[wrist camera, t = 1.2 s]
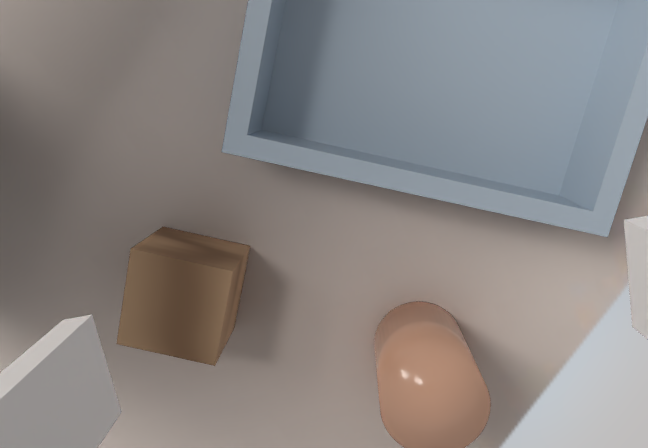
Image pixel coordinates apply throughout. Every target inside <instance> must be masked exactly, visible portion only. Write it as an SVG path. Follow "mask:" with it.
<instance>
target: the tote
mask: <svg viewBox="0 0 648 448" xmlns="http://www.w3.org/2000/svg"><path fill="white" fill-rule="evenodd" d="M647 118H648V0H248V5H247V10H246V16H245V22H244V27H243V33H242V39H241V44H240V50H239V56H238V61H237V67H236V73H235V78H234V84H233V90H232V96H231V101H230V107H229V113H228V118H227V124H226V130H225V135H224V141H223V147H222V152H223V153H228V154H232V155H237V156H242V157H246V158H251V159H255V160H260V161H264V162H269V163H273V164H278V165H282V166H287V167H291V168H296V169H300V170H305V171H310V172H314V173H319V174H323V175H328V176H332V177H337V178H341V179H346V180H350V181H355V182H359V183H364V184H368V185H373V186H378V187H382V188H387V189H391V190H396V191H400V192H405V193H409V194H414V195H418V196H423V197H427V198H432V199H436V200H441V201H446V202H450V203H455V204H459V205H464V206H468V207H473V208H477V209H482V210H486V211H491V212H495V213H500V214H504V215H509V216H514V217H518V218H523V219H527V220H532V221H536V222H541V223H545V224H550V225H554V226H559V227H563V228H568V229H572V230H577V231H582V232H586V233H591V234H595V235H600V236H604V237H608V235H609V232H610V229H611V226H612V223H613V220H614V217H615V214H616V211H617V208H618V205H619V202H620V199H621V196H622V193H623V190H624V187H625V184H626V181H627V178H628V175H629V172H630V169H631V166H632V163H633V160H634V157H635V154H636V151H637V148H638V145H639V142H640V139H641V136H642V133H643V130H644V127H645V124H646V121H647Z"/></svg>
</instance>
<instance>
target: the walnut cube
mask: <svg viewBox="0 0 648 448" xmlns="http://www.w3.org/2000/svg"><path fill="white" fill-rule="evenodd" d="M249 250H250V246H248V245H244V244H239V243H235V242H230V241H226V240H221V239H217V238H212V237H208V236H203V235H199V234H194V233H190V232H185V231H181V230H176V229H172V228H167V227H162V228H160V229H159V230H157V231H156V232H154V233H153V234H151V235H150V236H149V237H147V238H146V239H144V240H143V241H141V242H140V243H138V244H137V245H135V246H134V247H132V248H131V250H130V256H129V263H128V270H127V277H126V283H125V290H124V297H123V303H122V310H121V317H120V324H119V330H118V337H117V344H119V345H124V346H128V347H133V348H137V349H142V350H146V351H151V352H155V353H160V354H164V355H169V356H173V357H178V358H182V359H187V360H191V361H196V362H200V363H205V364H209V365H214V366H215V365H216V363H217V361H218V359H219V357H220V355H221V353H222V351H223V349H224V347H225V345H226V343H227V341H228V339H229V337H230V335H231V333H232V331H233V329H234V327H235V322H236V317H237V312H238V306H239V301H240V296H241V291H242V286H243V281H244V276H245V271H246V265H247V260H248V255H249Z"/></svg>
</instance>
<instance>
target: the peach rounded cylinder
mask: <svg viewBox="0 0 648 448" xmlns="http://www.w3.org/2000/svg"><path fill="white" fill-rule="evenodd" d="M374 347H375V358H376V369H377V380H378V391H379V402H380V412H381V417H382V421H383V423H384V426H385V428H386V429H387V431H388V433H389V434H390V435H391V436H392V438H393V439H394V440H395V441H396V442H398V443H399V444H400V445H402V446H403V447H405V448H464V447H466V446H468V445H469V444H470V443H472V442H473V441H474V440H475V439H476V438H477V437H478V436H479V435H480V434H481V432H482V431H483V429H484V427H485V426H486V424H487V421H488V418H489V414H490V406H491V404H490V396H489V391H488V389H487V386H486V384H485V382H484V380H483V377H482V375H481V373H480V371H479V369H478V367H477V365H476V362H475V360H474V358H473V356H472V354H471V352H470V349H469V347H468V345H467V343H466V341H465V339H464V337H463V334H462V332H461V330H460V328H459V326H458V324H457V322H456V321H455V319H454V318H453V317H452V316H451V315H450V314H449V313H448V312H447V311H446V310H445V309H443V308H441V307H439V306H437V305H435V304H431V303H427V302H410V303H406V304H403V305H400V306H398V307H396V308H394V309H393V310H391V311H390V312H389V313H388V314H387V315H386V316H385V317H384V318H383V319H382V321H381V322H380V324H379V326H378V328H377V330H376V333H375V339H374Z"/></svg>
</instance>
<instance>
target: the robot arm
mask: <svg viewBox="0 0 648 448" xmlns="http://www.w3.org/2000/svg"><path fill="white" fill-rule="evenodd" d="M624 230H625V242H626V255H627V267H628V279H629V292H630V304H631V315H632V327H633V328H634V329H635V330H637V331H638V332H639V333H640V334H642V335H643V336H644V337H645V338H646V339H648V216H642V217H636V218H631V219H625V220H624ZM121 412H122V411H121V408H120V405H119V402H118V398H117V395H116V392H115V388H114V385H113V382H112V378H111V375H110V372H109V368H108V365H107V362H106V358H105V355H104V352H103V348H102V345H101V342H100V338H99V335H98V332H97V328H96V325H95V322H94V319H93V315H86V316H81V317H75V318H70V319H64V320H62V321H61V322H60V323H59V324H57V325H56V326H55V327H54V328H53V329H52V330H50V331H49V332H48V333H47V334H46V335H44V336H43V337H42V338H41V339H40V340H38V341H37V342H36V343H35V344H34V345H33V346H31V347H30V348H29V349H28V350H27V351H25V352H24V353H23V354H22V355H21V356H19V357H18V358H17V359H16V360H15V361H14V362H12V363H11V364H10V365H9V366H8V367H6V368H5V369H4V370H3V371H2V372H0V448H98V446H99V445H100V443H101V442H102V441H103V439H104V438H105V436H106V435H107V433H108V432H109V430H110V429H111V427H112V426H113V424H114V423H115V421H116V420H117V418H118V417H119V415H120V414H121Z"/></svg>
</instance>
